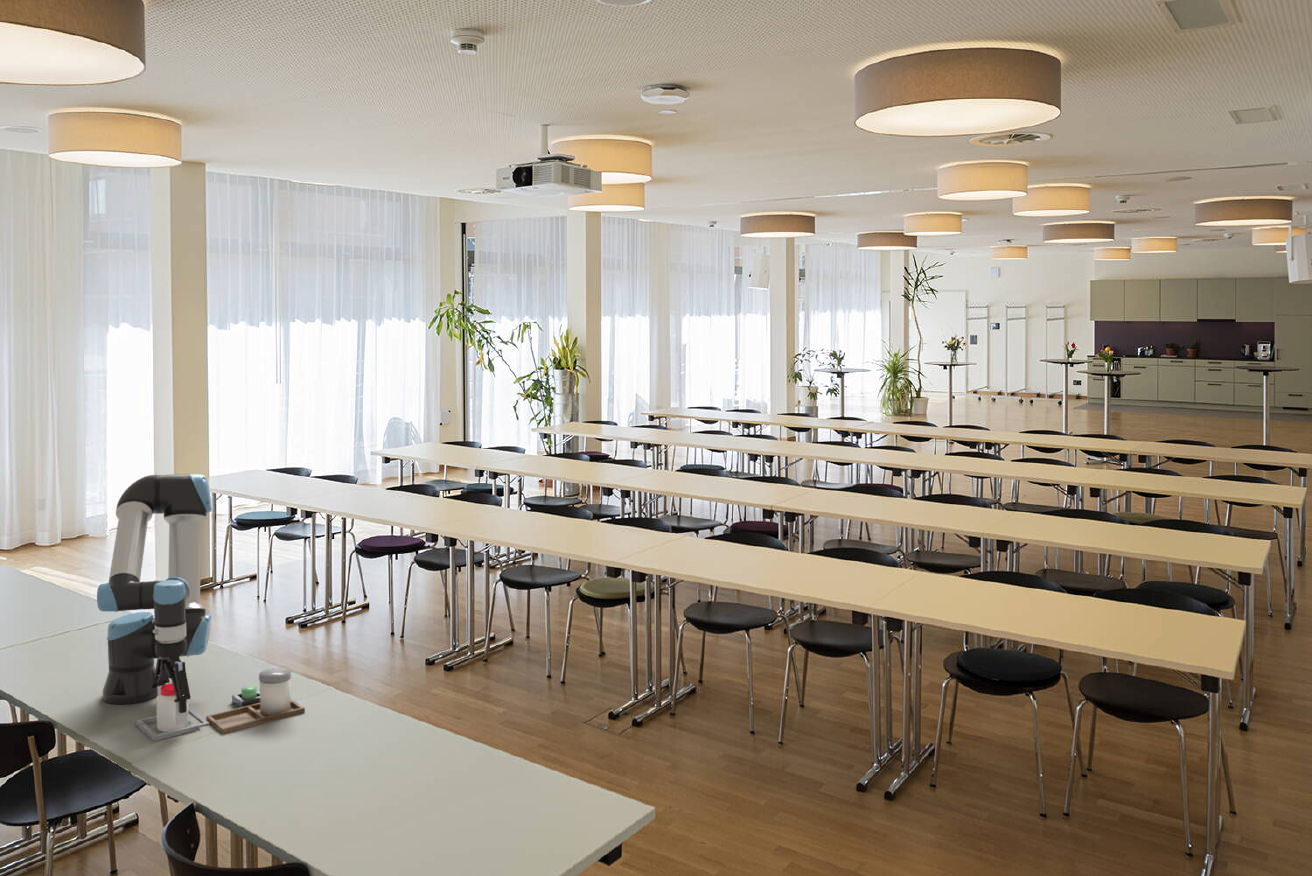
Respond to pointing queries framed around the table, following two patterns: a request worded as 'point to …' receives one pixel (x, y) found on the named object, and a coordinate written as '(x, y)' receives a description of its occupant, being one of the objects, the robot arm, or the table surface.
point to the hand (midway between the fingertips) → (172, 716)
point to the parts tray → (155, 737)
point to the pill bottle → (167, 710)
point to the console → (241, 703)
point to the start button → (249, 692)
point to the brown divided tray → (247, 717)
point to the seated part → (275, 691)
